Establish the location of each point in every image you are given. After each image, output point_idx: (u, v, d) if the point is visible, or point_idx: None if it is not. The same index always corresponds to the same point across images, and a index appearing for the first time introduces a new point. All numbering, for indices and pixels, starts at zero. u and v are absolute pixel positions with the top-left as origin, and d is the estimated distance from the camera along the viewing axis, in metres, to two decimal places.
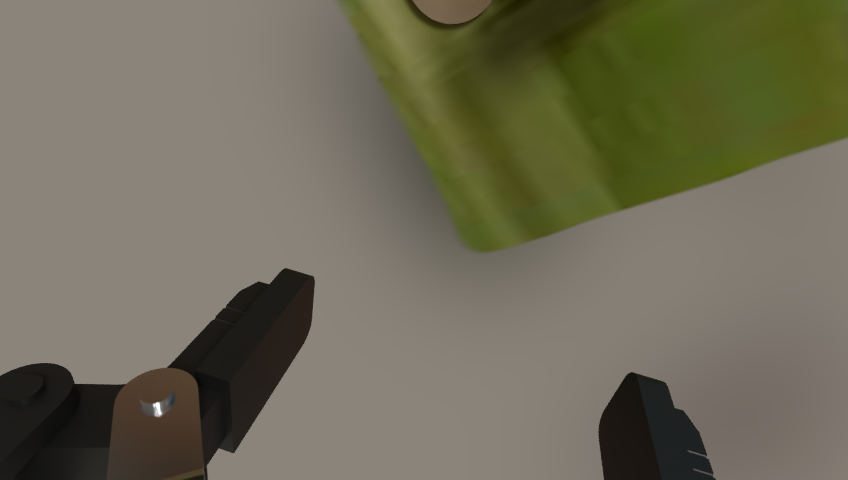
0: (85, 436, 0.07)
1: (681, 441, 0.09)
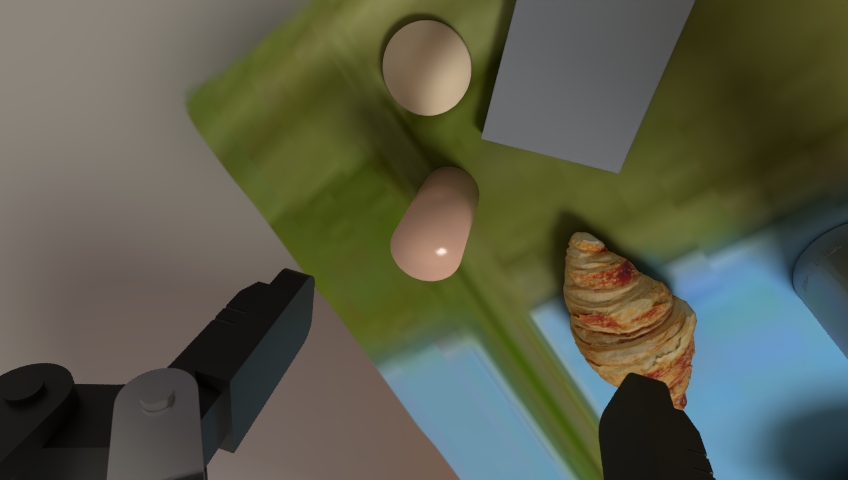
0: (85, 436, 0.07)
1: (681, 441, 0.09)
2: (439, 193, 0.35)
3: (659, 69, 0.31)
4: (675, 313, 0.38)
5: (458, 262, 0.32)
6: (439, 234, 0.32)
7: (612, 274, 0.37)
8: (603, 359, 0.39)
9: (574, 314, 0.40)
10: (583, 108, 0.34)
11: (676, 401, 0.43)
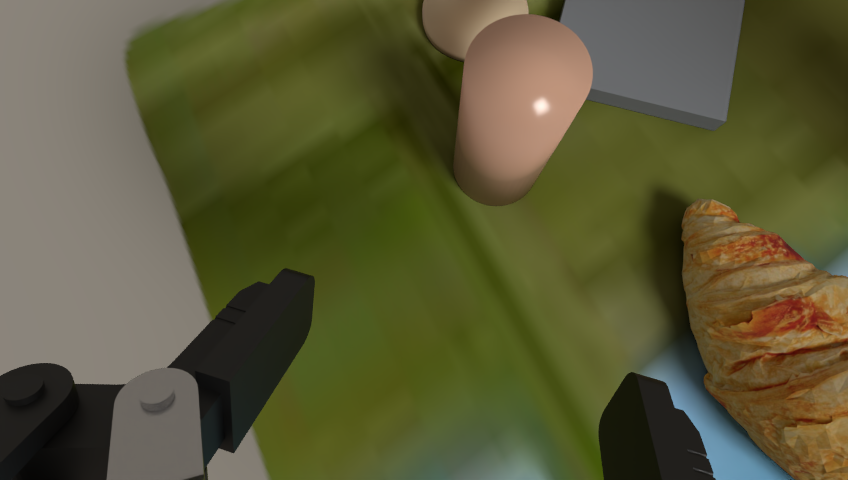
0: (85, 436, 0.07)
1: (681, 441, 0.09)
2: None
3: (737, 13, 0.29)
4: None
5: (587, 88, 0.18)
6: (553, 40, 0.19)
7: (777, 241, 0.23)
8: (831, 398, 0.20)
9: (735, 325, 0.22)
10: (666, 47, 0.29)
11: None
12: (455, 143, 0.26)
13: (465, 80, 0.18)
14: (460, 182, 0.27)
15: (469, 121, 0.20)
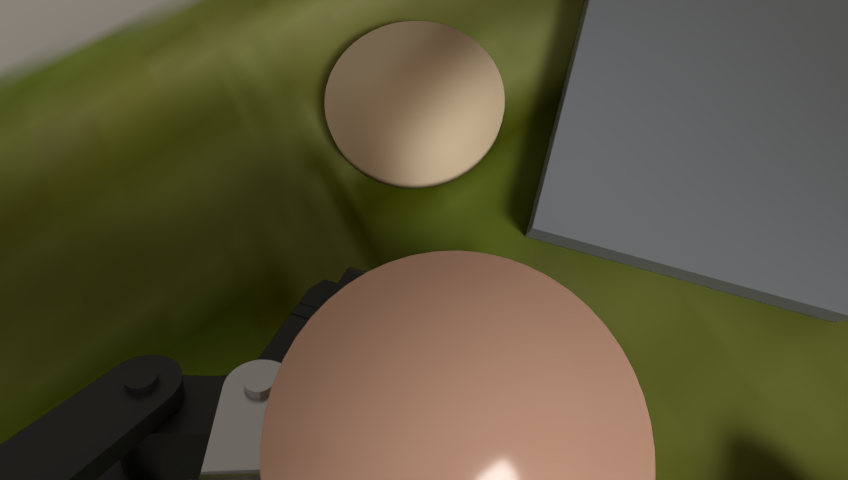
0: (182, 435, 0.08)
1: None
2: None
3: None
4: None
5: None
6: (535, 339, 0.06)
7: None
8: None
9: None
10: (746, 172, 0.16)
11: None
12: None
13: (263, 476, 0.06)
14: None
15: None
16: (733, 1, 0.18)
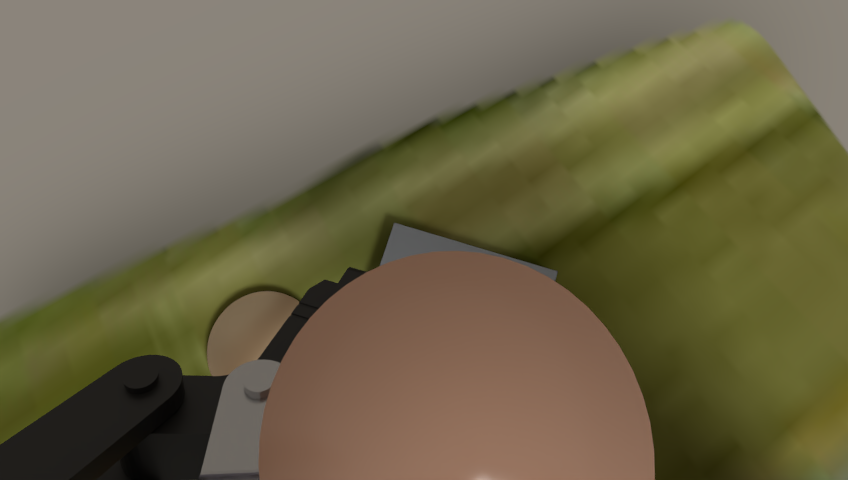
0: (182, 435, 0.08)
1: None
2: None
3: None
4: None
5: None
6: (535, 339, 0.06)
7: None
8: None
9: None
10: None
11: None
12: None
13: (262, 477, 0.06)
14: None
15: None
16: None
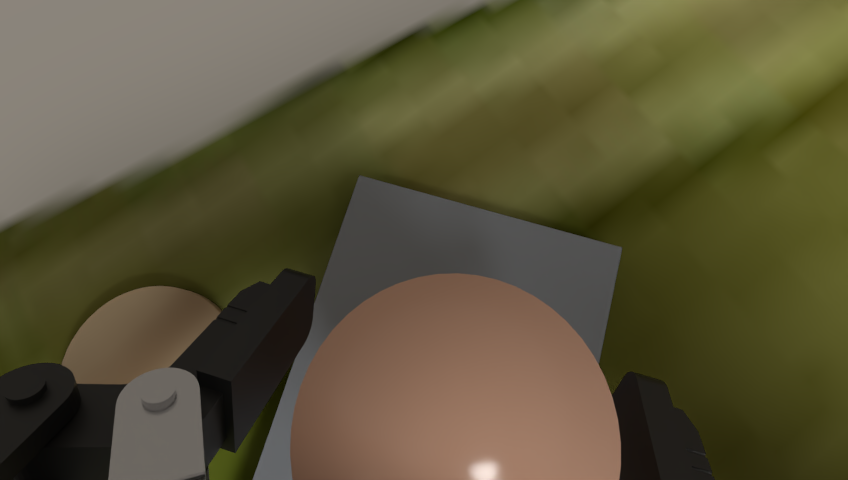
0: (87, 436, 0.07)
1: (680, 440, 0.09)
2: None
3: None
4: None
5: None
6: (522, 349, 0.07)
7: None
8: None
9: None
10: None
11: None
12: None
13: (293, 464, 0.07)
14: None
15: None
16: None
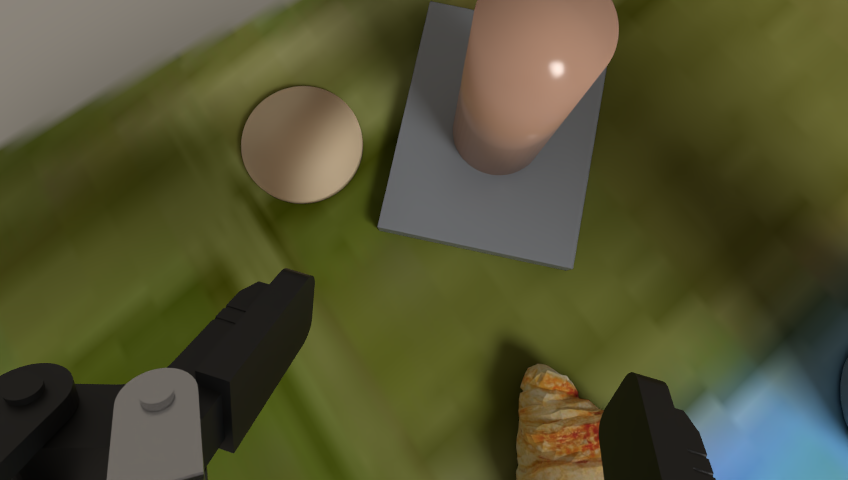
0: (85, 436, 0.07)
1: (681, 441, 0.09)
2: None
3: (589, 135, 0.26)
4: None
5: (613, 44, 0.16)
6: None
7: None
8: None
9: None
10: (510, 181, 0.26)
11: None
12: (456, 110, 0.23)
13: (475, 41, 0.16)
14: (462, 151, 0.25)
15: (479, 88, 0.18)
16: None
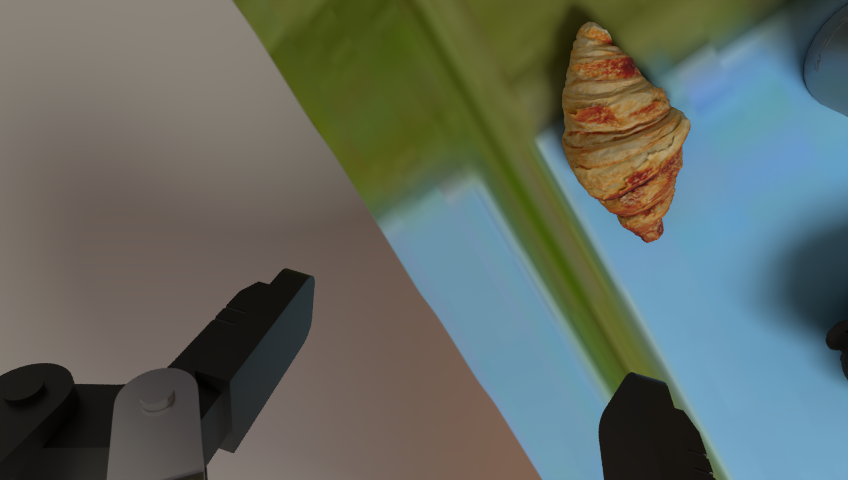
0: (85, 436, 0.07)
1: (681, 441, 0.09)
2: None
3: None
4: (671, 115, 0.38)
5: None
6: None
7: (617, 64, 0.37)
8: (594, 159, 0.39)
9: (571, 113, 0.39)
10: None
11: (654, 227, 0.43)
12: None
13: None
14: None
15: None
16: None
